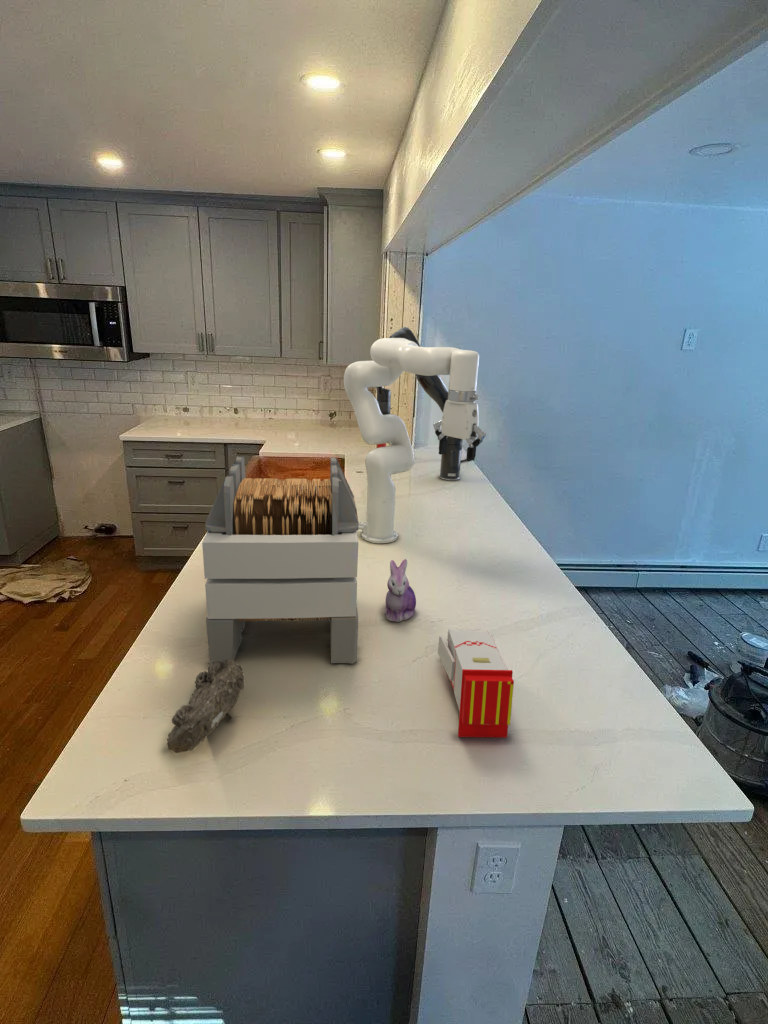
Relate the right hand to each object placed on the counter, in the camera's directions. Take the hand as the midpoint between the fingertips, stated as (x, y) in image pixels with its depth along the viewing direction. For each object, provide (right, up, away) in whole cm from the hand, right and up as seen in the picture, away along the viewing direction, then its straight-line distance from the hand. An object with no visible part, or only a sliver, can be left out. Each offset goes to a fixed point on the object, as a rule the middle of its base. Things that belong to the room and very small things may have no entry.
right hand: (381, 442), depth 294 cm
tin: (0, -7, +3) cm, 8 cm away
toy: (+19, -74, -176) cm, 192 cm away
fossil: (-32, -75, -186) cm, 203 cm away
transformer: (-23, -64, -155) cm, 169 cm away
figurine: (+5, -63, -147) cm, 160 cm away
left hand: (+22, -21, -133) cm, 136 cm away
